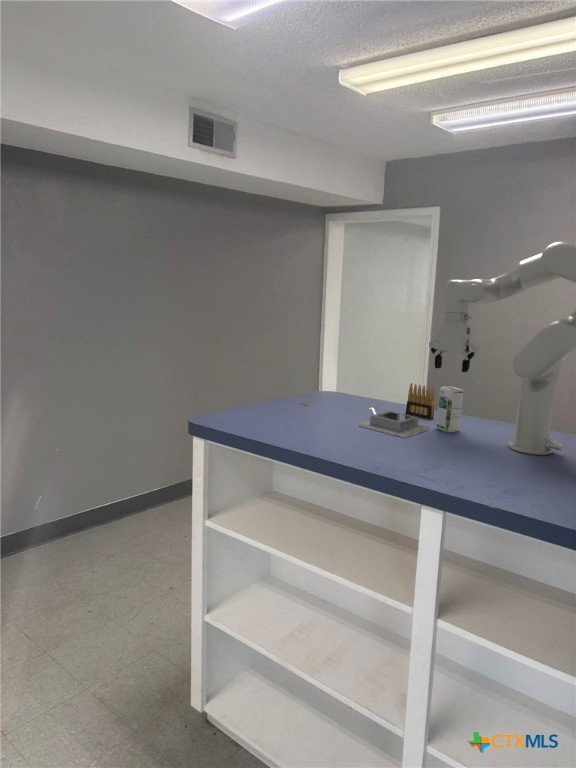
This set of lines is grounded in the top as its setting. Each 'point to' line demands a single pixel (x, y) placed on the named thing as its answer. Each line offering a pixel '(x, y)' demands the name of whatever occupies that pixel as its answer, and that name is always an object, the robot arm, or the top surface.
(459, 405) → the syrup box
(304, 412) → the top surface
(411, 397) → the ammunition clip
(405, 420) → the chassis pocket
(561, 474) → the top surface
